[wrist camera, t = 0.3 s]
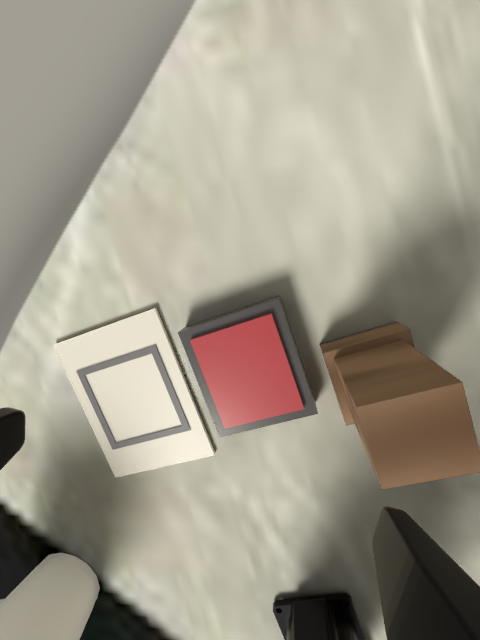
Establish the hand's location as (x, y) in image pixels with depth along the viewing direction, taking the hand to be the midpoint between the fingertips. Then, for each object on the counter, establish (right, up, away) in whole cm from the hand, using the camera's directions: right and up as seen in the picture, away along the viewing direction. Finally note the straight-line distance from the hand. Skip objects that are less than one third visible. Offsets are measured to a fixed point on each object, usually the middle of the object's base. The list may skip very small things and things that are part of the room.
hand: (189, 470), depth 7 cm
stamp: (+10, 0, +13) cm, 16 cm away
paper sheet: (-7, -2, +16) cm, 17 cm away
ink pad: (+2, +1, +14) cm, 14 cm away
